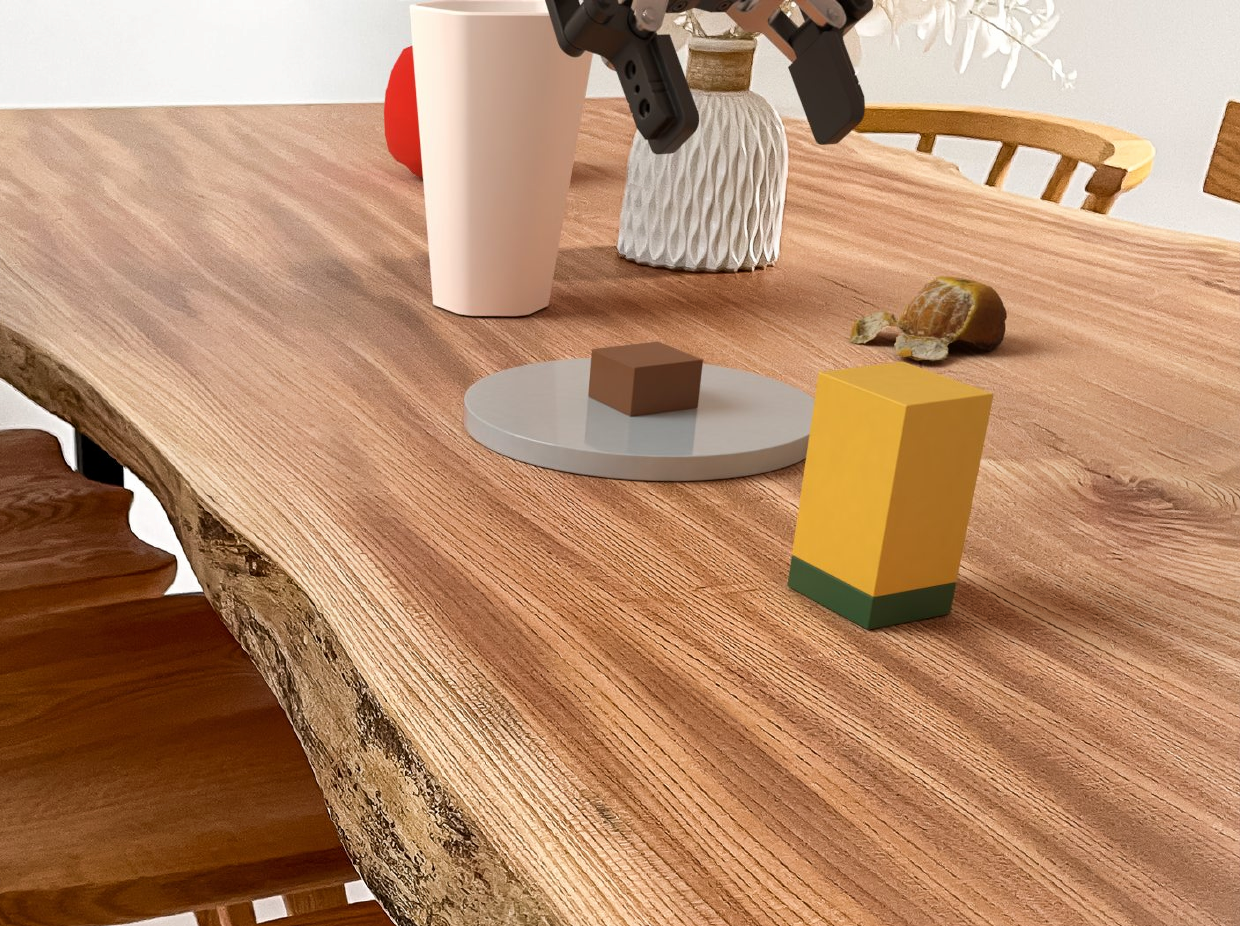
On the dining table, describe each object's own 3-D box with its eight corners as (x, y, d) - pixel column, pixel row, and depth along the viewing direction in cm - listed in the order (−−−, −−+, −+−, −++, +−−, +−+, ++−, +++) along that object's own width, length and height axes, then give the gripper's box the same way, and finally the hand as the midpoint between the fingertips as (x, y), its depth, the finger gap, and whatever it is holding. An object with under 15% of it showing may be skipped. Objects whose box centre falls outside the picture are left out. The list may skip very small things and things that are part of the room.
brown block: (654, 388, 91) (658, 341, 90) (698, 408, 88) (703, 359, 87) (587, 396, 90) (591, 348, 89) (630, 417, 87) (634, 367, 85)
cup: (404, 323, 108) (412, 12, 99) (400, 286, 117) (407, -3, 108) (586, 324, 108) (610, 13, 99) (569, 288, 117) (590, -1, 108)
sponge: (786, 586, 71) (818, 371, 66) (866, 571, 72) (902, 360, 68) (867, 630, 67) (906, 405, 62) (950, 614, 68) (994, 393, 64)
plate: (766, 377, 98) (769, 355, 97) (870, 479, 82) (874, 453, 82) (444, 380, 97) (444, 358, 96) (488, 484, 81) (489, 458, 81)
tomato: (378, 188, 149) (380, 51, 144) (386, 163, 161) (389, 35, 155) (539, 191, 148) (547, 53, 143) (537, 166, 160) (544, 37, 154)
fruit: (833, 333, 106) (843, 270, 104) (950, 324, 109) (962, 262, 107) (914, 367, 100) (926, 301, 98) (1037, 357, 102) (1050, 291, 100)
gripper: (528, -327, 63) (678, 82, 62) (819, -300, 70) (961, 71, 68) (433, -169, 70) (566, 204, 68) (706, -157, 76) (833, 183, 75)
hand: (763, 137), depth 68 cm, fingers open, 8 cm apart
